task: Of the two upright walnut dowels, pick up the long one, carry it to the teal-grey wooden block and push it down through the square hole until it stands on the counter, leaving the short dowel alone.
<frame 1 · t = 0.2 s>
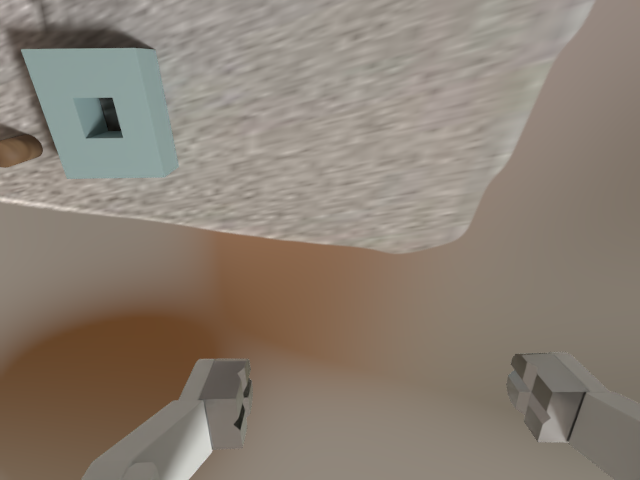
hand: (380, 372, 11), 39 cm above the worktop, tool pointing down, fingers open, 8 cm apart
short dowel: (30, 146, 45), on the worktop
hole block: (120, 113, 44), on the worktop
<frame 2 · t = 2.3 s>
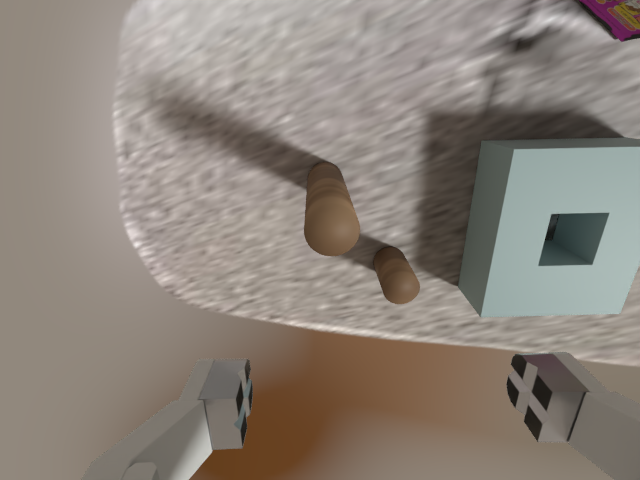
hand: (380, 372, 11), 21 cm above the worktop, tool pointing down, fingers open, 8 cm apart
short dowel: (389, 261, 33), on the worktop
hole block: (534, 218, 31), on the worktop
long dowel: (325, 179, 29), on the worktop
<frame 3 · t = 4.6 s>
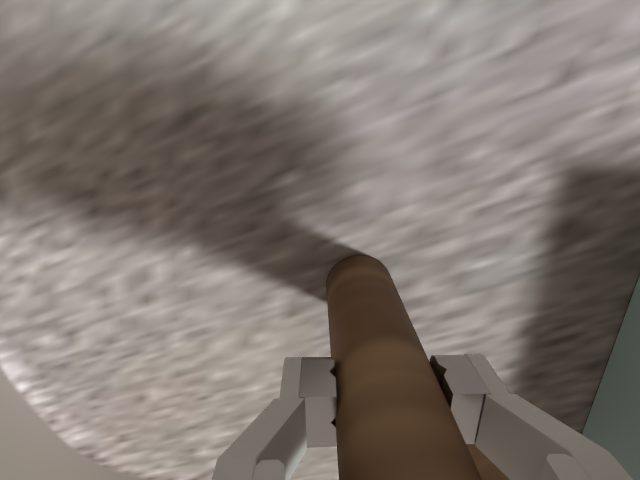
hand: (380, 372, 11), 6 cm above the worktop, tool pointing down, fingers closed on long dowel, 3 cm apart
short dowel: (463, 411, 19), on the worktop
long dowel: (358, 284, 16), on the worktop, touching gripper
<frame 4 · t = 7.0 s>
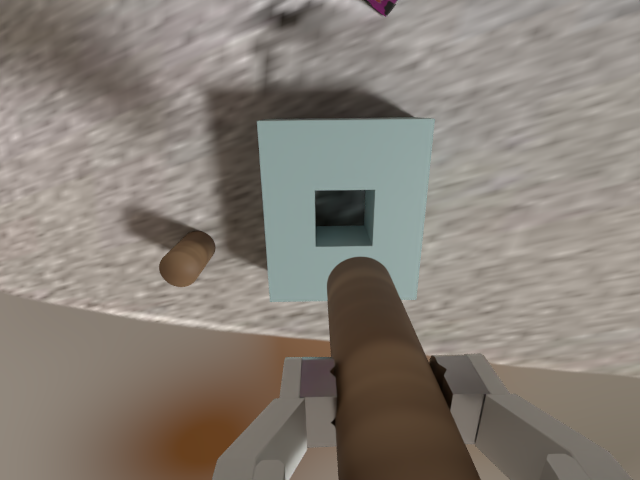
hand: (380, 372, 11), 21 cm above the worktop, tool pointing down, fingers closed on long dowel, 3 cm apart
short dowel: (198, 246, 32), on the worktop
hole block: (340, 202, 30), on the worktop
long dowel: (359, 286, 16), point 15 cm above the worktop, touching gripper
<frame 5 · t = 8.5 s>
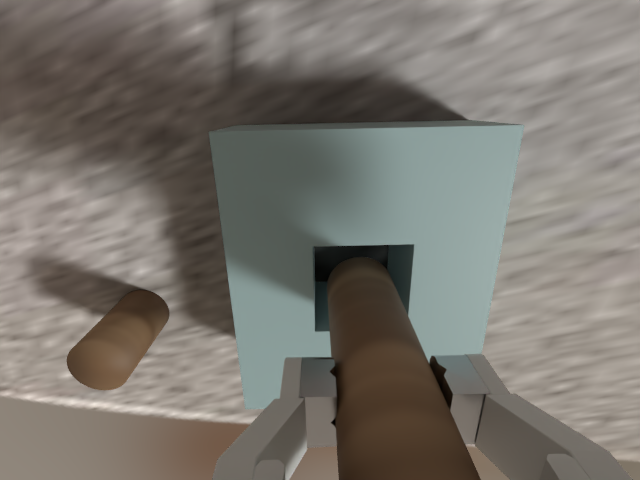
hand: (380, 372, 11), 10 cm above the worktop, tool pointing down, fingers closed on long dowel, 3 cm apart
short dowel: (145, 310, 22), on the worktop
hole block: (351, 247, 20), on the worktop
long dowel: (359, 286, 16), point 5 cm above the worktop, touching gripper
when the fingers open (7 cm above the worktop, at t = 9.5 s): long dowel drops 1 cm, resting in hole block.
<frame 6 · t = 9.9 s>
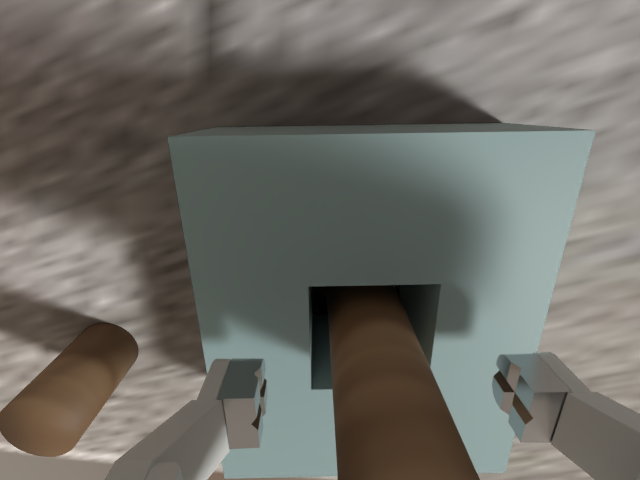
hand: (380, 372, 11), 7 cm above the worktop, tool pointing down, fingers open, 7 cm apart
short dowel: (109, 347, 18), on the worktop
hole block: (356, 275, 17), on the worktop
long dowel: (356, 276, 17), resting in hole block
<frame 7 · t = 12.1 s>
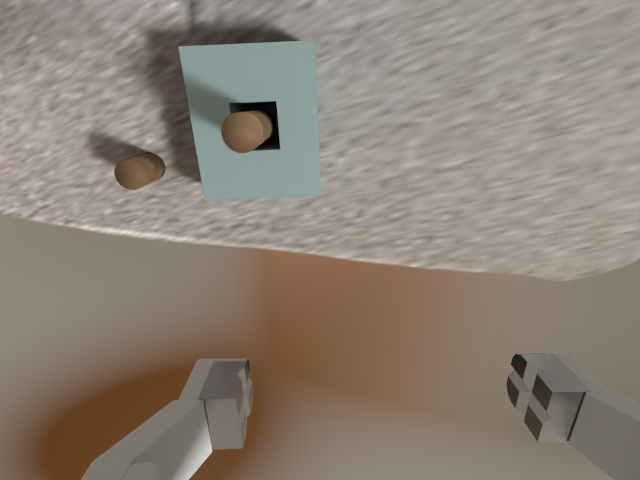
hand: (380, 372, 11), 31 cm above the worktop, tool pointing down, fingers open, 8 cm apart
short dowel: (151, 166, 39), on the worktop
hole block: (262, 124, 37), on the worktop
long dowel: (262, 124, 37), resting in hole block
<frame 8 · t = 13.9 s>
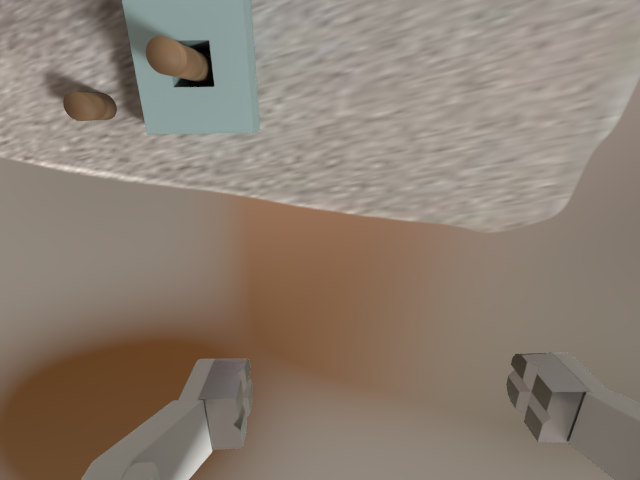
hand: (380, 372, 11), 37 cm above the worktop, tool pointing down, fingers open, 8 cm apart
short dowel: (104, 106, 42), on the worktop
hole block: (205, 69, 41), on the worktop
long dowel: (205, 69, 41), resting in hole block
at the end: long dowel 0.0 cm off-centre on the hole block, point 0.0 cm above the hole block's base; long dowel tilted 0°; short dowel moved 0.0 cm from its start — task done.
